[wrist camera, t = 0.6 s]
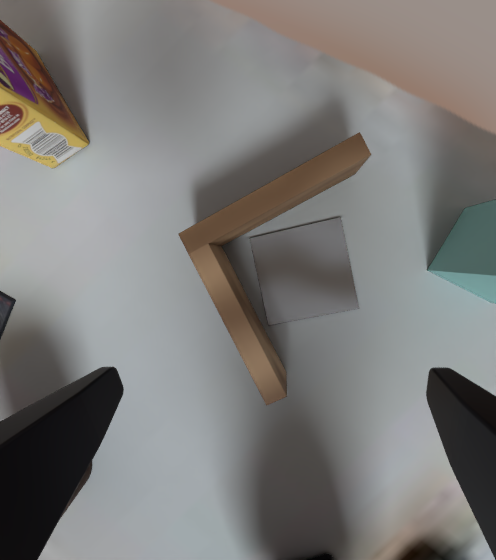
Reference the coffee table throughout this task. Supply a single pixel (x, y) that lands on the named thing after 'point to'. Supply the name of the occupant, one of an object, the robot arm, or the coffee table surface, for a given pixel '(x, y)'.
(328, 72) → the coffee table surface
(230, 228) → the corner arena
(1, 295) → the dark gray book
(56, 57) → the coffee table surface
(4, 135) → the candy box
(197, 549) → the coffee table surface
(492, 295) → the teal block
